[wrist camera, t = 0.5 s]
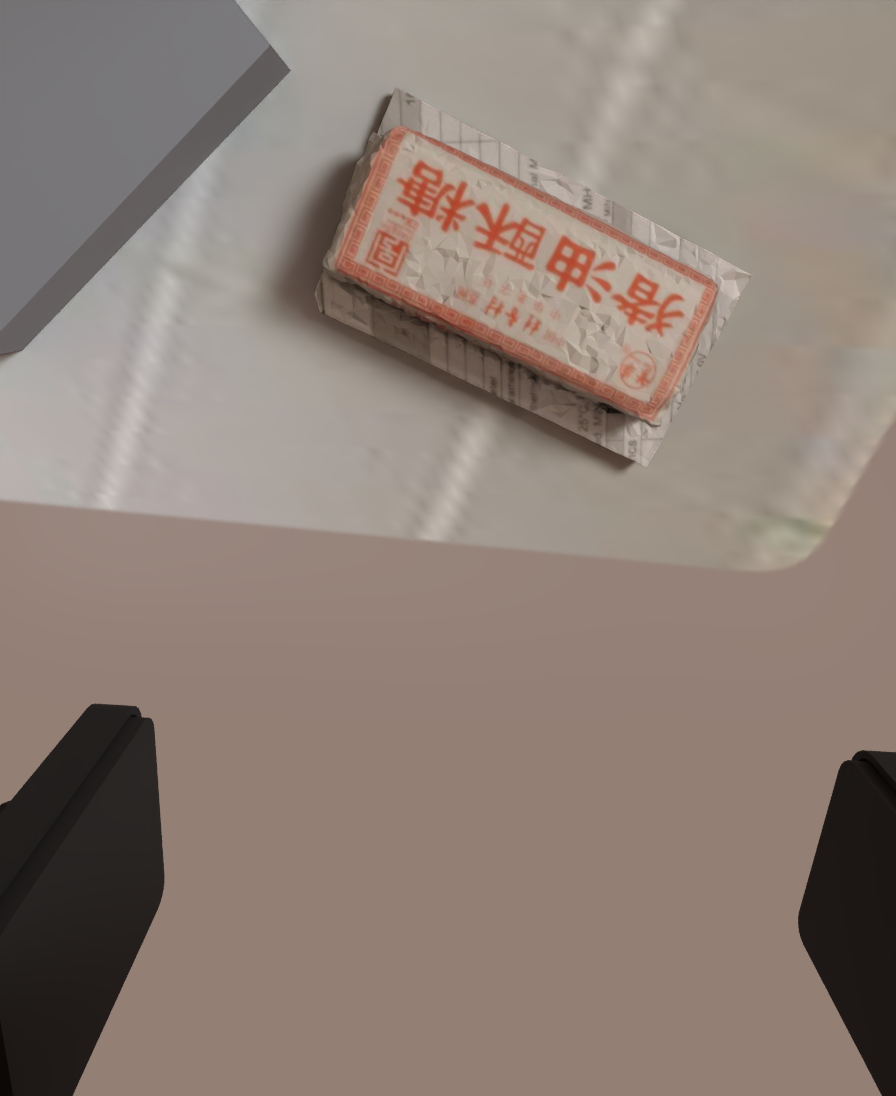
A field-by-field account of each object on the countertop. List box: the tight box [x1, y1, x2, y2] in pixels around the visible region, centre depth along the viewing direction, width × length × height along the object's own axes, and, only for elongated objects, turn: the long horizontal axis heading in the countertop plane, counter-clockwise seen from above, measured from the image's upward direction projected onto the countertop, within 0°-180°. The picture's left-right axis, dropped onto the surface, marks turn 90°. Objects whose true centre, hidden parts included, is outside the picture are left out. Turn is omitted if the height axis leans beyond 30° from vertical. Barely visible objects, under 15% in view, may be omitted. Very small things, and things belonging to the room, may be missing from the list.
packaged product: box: [314, 88, 752, 467], centre depth 35 cm, size 18×5×10 cm
